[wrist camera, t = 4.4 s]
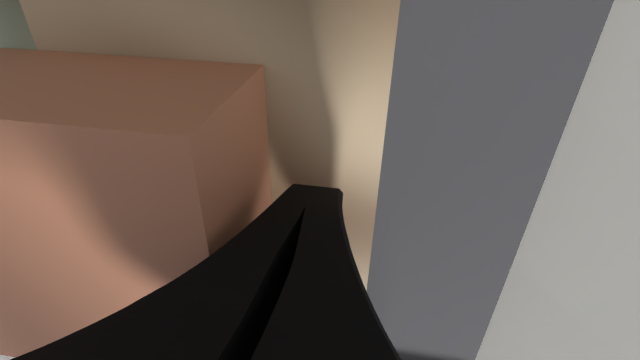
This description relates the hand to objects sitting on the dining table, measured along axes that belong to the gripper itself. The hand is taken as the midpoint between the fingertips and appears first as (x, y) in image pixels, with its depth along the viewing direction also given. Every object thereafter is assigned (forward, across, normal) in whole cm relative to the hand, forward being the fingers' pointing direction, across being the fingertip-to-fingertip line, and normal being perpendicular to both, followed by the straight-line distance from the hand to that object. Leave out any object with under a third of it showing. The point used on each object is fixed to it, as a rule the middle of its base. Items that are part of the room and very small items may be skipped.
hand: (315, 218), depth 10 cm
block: (+1, +5, 0) cm, 5 cm away
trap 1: (+2, -4, 0) cm, 4 cm away
